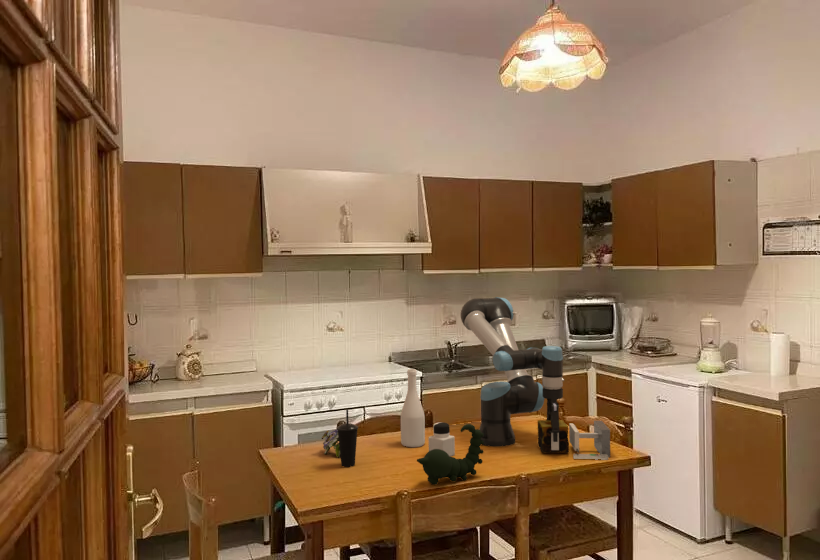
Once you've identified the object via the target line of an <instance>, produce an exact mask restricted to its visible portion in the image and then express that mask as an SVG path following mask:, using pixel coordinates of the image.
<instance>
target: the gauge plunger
mask: <svg viewBox="0 0 820 560" xmlns="http://www.w3.org/2000/svg"><path fill="white" fill-rule="evenodd" d="M594 438H598V433H594V432H579V429H578V428H577V426H576V425H575V424H574V423H569V425H568V441H569V444H570V445H571V446H572V448H573V450H574V452H577V454H580V439H594Z"/></svg>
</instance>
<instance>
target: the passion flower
mask: <svg viewBox="0 0 820 560" xmlns="http://www.w3.org/2000/svg"><path fill="white" fill-rule="evenodd" d="M321 436H322V437H321V440H323V439H324V438H325V440H324V442H322V445H323V446H322V448H323V450H325V451H324V452H323V454H324V455H327V454H328V453H329V452H330V450H331V448H332V447H333V449H334V451H335V456H336V457H337V458H338V457H339V458H338V459H341V457H340V447H339V438H338V430H337V428H335V430H333V431H330V433H329V430H326V431H325V432H324V433H323V435H321Z"/></svg>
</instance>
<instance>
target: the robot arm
mask: <svg viewBox="0 0 820 560" xmlns="http://www.w3.org/2000/svg"><path fill="white" fill-rule="evenodd" d="M460 320H461V323H462V325H463V326H464V327H465V328H466V329H467V330H469V331H471V332H472V333H473V334H474V335H475V337H477V338H478V340H479V341H480V342H481V343H482V344H483V346H484V347H485V348H486V349H487V351H488V352H489V353H490V354H491V355H492V364H493V365H494V369H495V370H497V371H499V372H504V374H505V376H506V379H507V381H492V382H489V383H485V384H484V385H483V386H482V387H481V389H480V397H479V398H480V417H481V418H480V421H481V422H480V425H479V428H478V430H480V431H481V433H483V434H484V436H483V437H481V440H482V441H484V444H483V445H482V446H485V447H496V448H497V447H499V448H502V447H508V446H512V445H514V444H515V443H516V435H515V432H514V430H513V426H512V424H511V415H516V414H517V415H518V414H527V413H534V412H538V411H540V410H541V409H543V408H542V407H543V405H544V404H545V399H546V419H545V420H551V428H552V431H550V433H551V450H559V432H560V430H559V420H560V414H559V408H560V404H559V403H558V401H557V400H561V399H563V397H564V389H563V386H564V385H563V383H564V382H565V378H563V373H564V371H563V370H564V364H563V362H564V356H563V349H562V347H560V346H557V345H546V346H545V345H544V346H543V347H542V349H541V348H538V347H528V348H527V349H519V347H518V345H517V342H516V339H515V337H514V336H515V335H514V334H513V331H512V328H511V325H512V323H513V320H514V308H513V305H512V304H511V302H510V300H508V299H507V298H505V297H497V296H495V297H484V298H483V297H481V298H480V297H476V298H475V297H474V298H472V299H471V298H470V299H469V300H467V301H466V302H465V303H464V304H463V306H462V307H461V309H460ZM530 369H531V370H532V369H539V370H542V371H541V372H542V373H541V376H542V377H541V378H542V379H541V380H542V381H541V382H542V383H540V382H538V381H535V379H534V377H533V375H532V374H529V373H528V372H527V370H530Z"/></svg>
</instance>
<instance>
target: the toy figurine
mask: <svg viewBox="0 0 820 560" xmlns="http://www.w3.org/2000/svg"><path fill="white" fill-rule="evenodd" d="M459 431H460V433H463V432H464V431H468V432H469V433H471V437H470V439H469V444H470V445H469V446H468V448H467V451H468V452H466V454H465V457H463V458H455V457H454V456H449V455H448V454H447V453H446V452H445V451H443V450H441V449H433V450H431V451H429V450H428V452H426V453H425V455H424V456H423V457H420V458H417V459H416V462H418V463H419V464H420V465H422V471H424V473H425V475H427V482H428V483H429V484H430V485H432V486H435V485H438V484H439V481H440V480H441V479H446V478H447V479H448V480H449V481H450V482H452V483H454V482H456V481H457V480H458V479H461V480H462V481H467V480H468V476H467V475H468V474H470V475H471V476H475V475H477V470H476V469H475V466H476V465H477V464H478V465H482V464H483V459H482V458H480V455H483V454H484V449H481V446H484V445H483V444H484V441H482V440H481V437H483V436H484V434H483V433H481V431H480V430H479V428H478V429H476V427H475V425H473V424H471V423H466V424H464V425H463V426H461V428H460V430H459Z"/></svg>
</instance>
